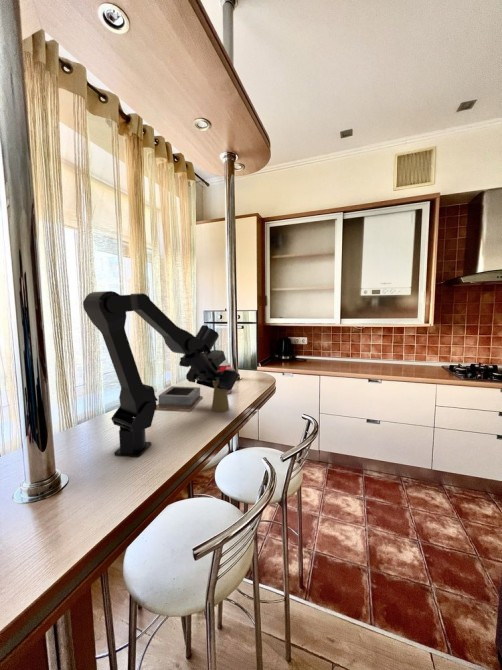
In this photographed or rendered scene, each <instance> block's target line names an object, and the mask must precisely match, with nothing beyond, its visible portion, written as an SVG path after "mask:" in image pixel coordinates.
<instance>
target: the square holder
mask: <svg viewBox="0 0 502 670" xmlns="http://www.w3.org/2000/svg"><path fill="white" fill-rule="evenodd" d="M201 400H203V395H201V387H197V386H196V387H194V386H172V385H171V386H170V387H168V388H167V389H166V390H164V391H163V392H161V393H159V395H158V404H157V408H156V410H155V411H166V412H187V413H188V412H189V413H190V412H191V411H192V410H193V409H195V407H196V406H197V405H198V404H199V403H200V402H201Z"/></svg>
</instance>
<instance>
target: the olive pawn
mask: <svg viewBox="0 0 502 670" xmlns="http://www.w3.org/2000/svg"><path fill="white" fill-rule="evenodd" d="M218 384H219V381H218V379H217V380H216V381H213V386H214V388H213V396H212V404H211V411H213V412H215V413H223V412H228V411H229V410H230V405H229V398H228V394H227V391H224V390H221V389H218V388H217V386H218Z"/></svg>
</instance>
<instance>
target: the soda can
mask: <svg viewBox="0 0 502 670" xmlns="http://www.w3.org/2000/svg"><path fill="white" fill-rule="evenodd" d="M219 366H220V367H221V368H220V370H218V372H222V371H224V370H226V369H230V370H233V368H232V365H231V363H230V362H225V361H223V362H222V363H221V364H220V365H219ZM232 391H233V388H232V389H231V390H229V392H227V395H229V394H230V393H231V392H232ZM228 393H229V394H228Z"/></svg>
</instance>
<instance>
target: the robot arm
mask: <svg viewBox="0 0 502 670" xmlns="http://www.w3.org/2000/svg"><path fill="white" fill-rule="evenodd" d="M82 302H83V304H82V305H83V306H82V307H83V310H84V311H85V314H86V315H87V316H88V318H89V320H90V322H91V323H92V324H93V325H94V326H95V327H96V329H97V330H98V331H99V333H101V336H102V338H103V341H104V344H105V346H106V349H107V351H108V355H109V357H110V360H111V363H112V366H113V369H114V371H115V374H116V378H117V380H118V383H119V385H120V392H119V393H120V394H119V397H118V399H119V406H118V408H117V410H116V411H115V412H114V413H113V415H112V416H111V422H112V423H113V425H114V426H118V427H119V429H118V435H119V436H118V437H119V439H118V440H119V447H118V449H117V450H116V451H114V453H113V454H114V456H120V457H121V456H124V457H136V458H138V457H141V456H142V455H143V453H144V452H145V451H146V450H147V449H148V448H149V447H150V446H151V445H152V442H151V441H146V439H147V438H146V437H147V436H146V429H148V428H150V427H152V424H153V419H154V416H155V412H156V411H157V410H156V408H157V405H158V404H157V401H158V402H159V398H157V396H156V394H155V388H154V387H153V386H152V385H147V384H145V383H144V382H142V378H141V375H140V372H139V369H138V366H137V363H136V360H135V358H134V357H135V356H134V353H133V351H132V348H131V344H130V342H129V339H128V336H127V333H126V328H125V325H126V322H127V321H126V320H127V313H128V312H134V313H136V315H138V316H139V317H140V318H141V319H143V320H144V321H145V322H146V323H147V324H149V326H150V327H152V328H153V330H155V331H156V332H157V333H158V334H159V335H160V336H161V337H162V338H163V341H164V343H165V345H166V346H167V347H168V349H169V350H170V352H172V353H174V354H175V353H176V354H181V355H183V356H182V357H180V361H179V364H178V365H179V366H180V367H184V368H189V367H190V368H189V369H188V371H187V373H186V376H185V377H186V380H187V381H188V382H190V383H194V384H195V383H196V385H200V386H204V387H207V388H211V389H214V386H213V381H216V380H217V379H218V381H219V384H218V386H217V388H218V389H221V390H224V391H227V392H229V390H231V389H232V390H233V387H234V386H235V383H236V381H238V378H239V376H240V375H239V373H238V372H237V370H235V369H232V370H230V369H226V370H224V371H222V372H218V370H220V368H221V367H220V366H219V365H220V364H221V363H222V362H225V361H226V360H227V357H226V355H225V352H224V351H225V350H219V349H213V347H214V345H216V342H217V340H218V339H219V337H220V335H219V333H218V332H217V331H216V330H214V329H213V328H211V327H209V326H208V325H206V324H205V325H203V324H202V325H201V327H200V328H199V330H198V331H197V333H196V335H194V334H192V333H191V332H189V331H188V330H185V329H183V328H182V327H179V326H177V324H175V323H174V322H173V320H171V318H170V317H168V316H167V315H166V314H165V313H164V312H163V311H162V310H161V309H160V308H159V307H158V306H157V305H156V303H154V302H153V301H152V299H151V298H150V297H149V295H147V294H146V293H144V292H143V293H142V292H141V293H140V292H139V293H130V294H119V293H117V292H116V291H112V290H105V291H92V292H90V293H88V294H87V295H86V296H85V298H84V300H83V301H82ZM212 349H213V350H212Z"/></svg>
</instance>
